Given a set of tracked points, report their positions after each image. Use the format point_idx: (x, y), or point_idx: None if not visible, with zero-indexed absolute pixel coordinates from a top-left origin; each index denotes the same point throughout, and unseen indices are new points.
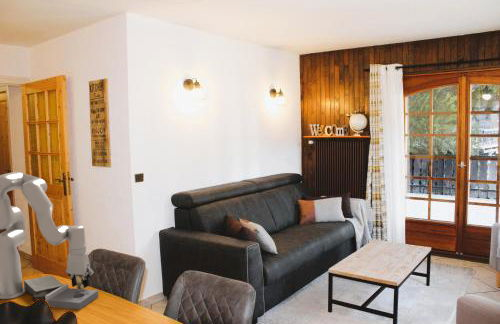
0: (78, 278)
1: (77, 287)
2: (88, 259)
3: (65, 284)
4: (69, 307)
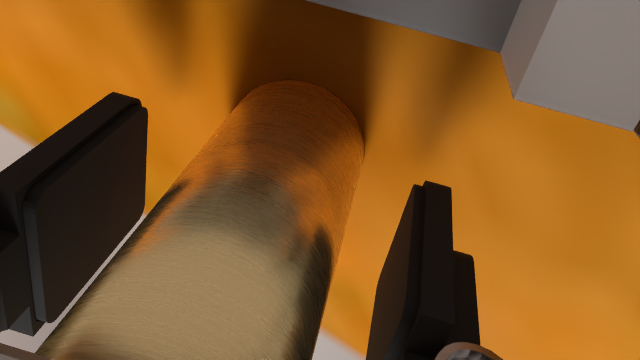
0: (156, 266)
1: (302, 132)
2: None
3: (618, 84)
4: None
